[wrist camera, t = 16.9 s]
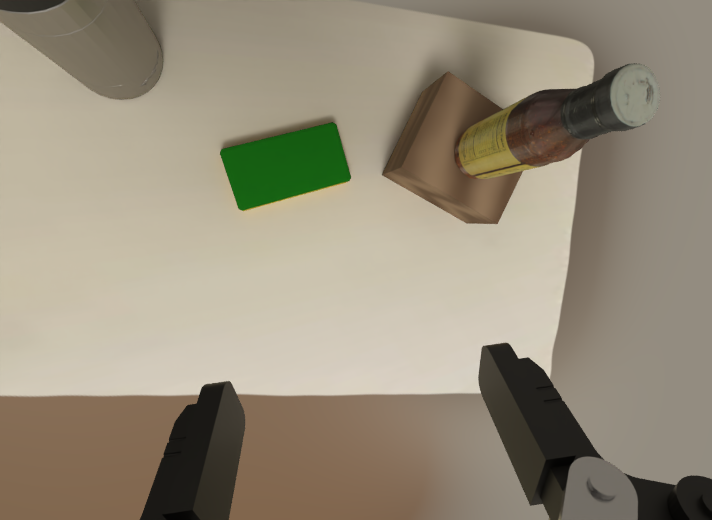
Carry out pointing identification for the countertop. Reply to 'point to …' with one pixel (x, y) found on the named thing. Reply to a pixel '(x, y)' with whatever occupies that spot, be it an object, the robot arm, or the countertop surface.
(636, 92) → the sauce bottle
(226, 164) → the dish sponge
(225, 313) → the countertop surface
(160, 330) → the countertop surface
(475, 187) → the walnut box
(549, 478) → the robot arm
